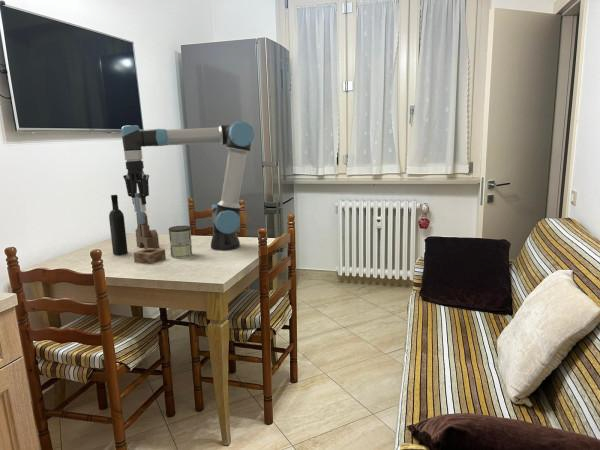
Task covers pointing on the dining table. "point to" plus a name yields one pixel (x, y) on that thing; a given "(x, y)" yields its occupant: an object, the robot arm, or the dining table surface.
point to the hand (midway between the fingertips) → (140, 211)
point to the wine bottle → (117, 228)
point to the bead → (149, 255)
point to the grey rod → (140, 214)
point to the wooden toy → (146, 235)
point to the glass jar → (180, 241)
